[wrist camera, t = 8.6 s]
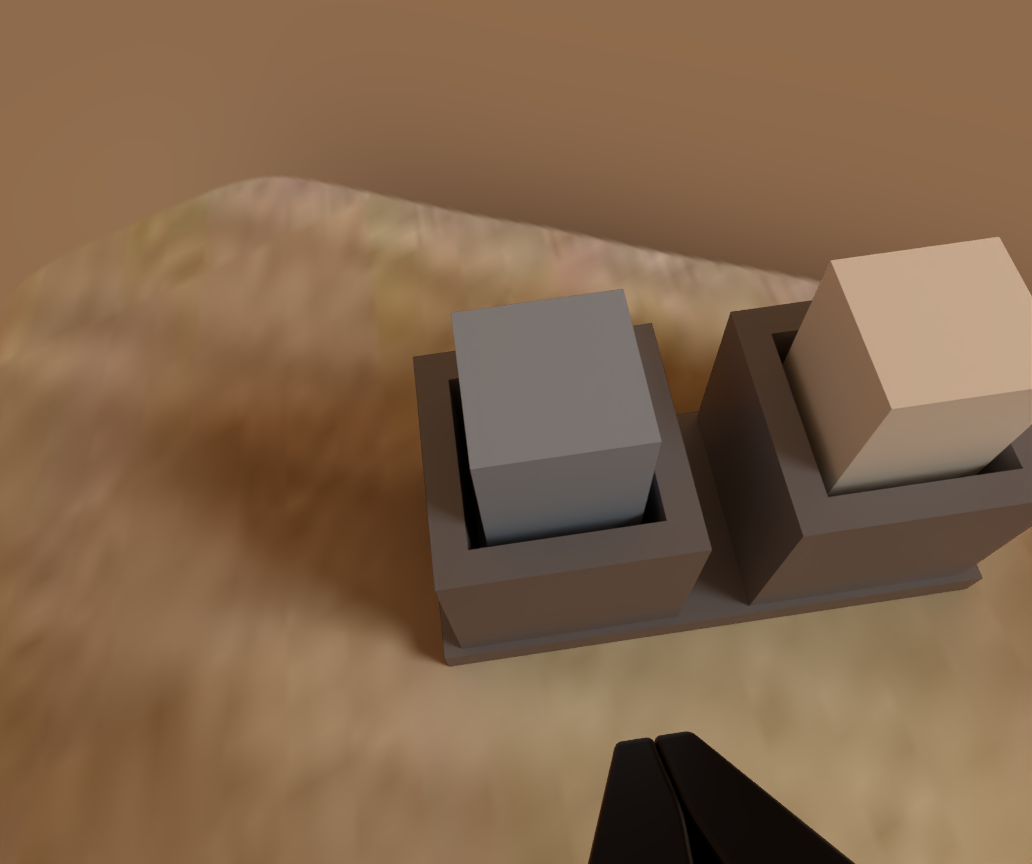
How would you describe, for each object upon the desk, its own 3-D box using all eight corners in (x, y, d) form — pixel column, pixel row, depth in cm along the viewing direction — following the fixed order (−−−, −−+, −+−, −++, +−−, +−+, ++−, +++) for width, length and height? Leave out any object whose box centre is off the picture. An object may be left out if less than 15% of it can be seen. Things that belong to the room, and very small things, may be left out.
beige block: (927, 518, 21) (1078, 382, 15) (794, 538, 21) (891, 409, 15) (880, 402, 23) (999, 236, 17) (756, 420, 23) (830, 260, 17)
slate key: (631, 562, 21) (661, 441, 15) (496, 582, 21) (470, 469, 15) (605, 441, 23) (623, 288, 17) (480, 459, 23) (450, 312, 17)
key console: (966, 588, 23) (1102, 501, 17) (449, 666, 23) (412, 603, 17) (887, 398, 26) (981, 269, 20) (429, 464, 26) (392, 353, 20)
